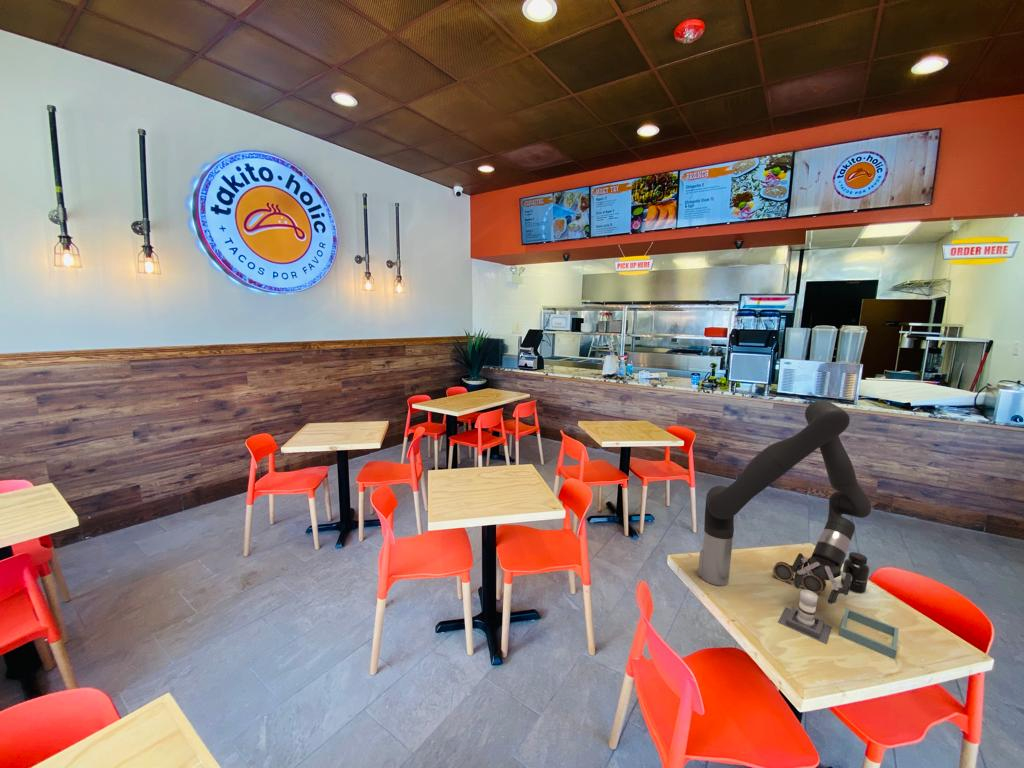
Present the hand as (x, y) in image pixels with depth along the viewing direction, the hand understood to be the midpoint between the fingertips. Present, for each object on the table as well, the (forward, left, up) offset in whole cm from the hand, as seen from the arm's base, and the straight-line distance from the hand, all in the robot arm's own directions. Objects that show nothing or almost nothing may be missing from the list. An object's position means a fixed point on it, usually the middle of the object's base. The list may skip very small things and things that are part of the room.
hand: (812, 594), depth 125 cm
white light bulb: (-1, -3, -9) cm, 9 cm away
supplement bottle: (+7, +33, -10) cm, 35 cm away
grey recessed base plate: (-1, -3, -10) cm, 10 cm away
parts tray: (+13, +5, -10) cm, 17 cm away
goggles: (-6, +24, -10) cm, 27 cm away
